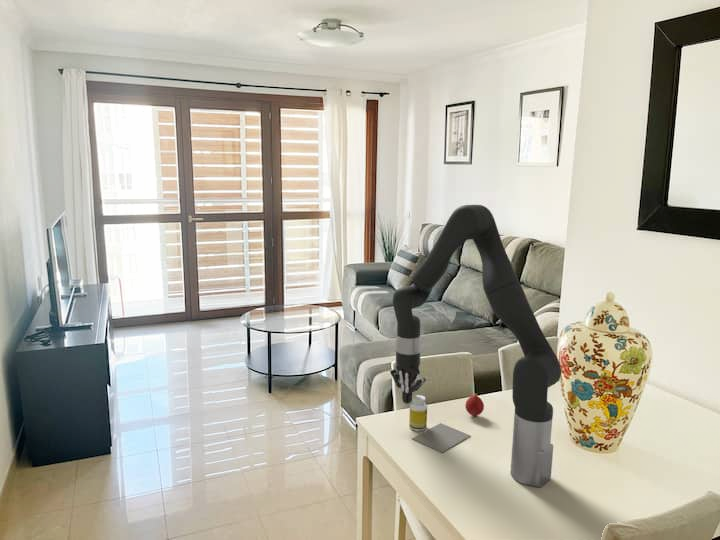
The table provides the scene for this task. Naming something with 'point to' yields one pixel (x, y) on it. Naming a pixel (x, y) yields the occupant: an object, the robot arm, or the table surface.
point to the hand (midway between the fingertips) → (406, 402)
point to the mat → (441, 437)
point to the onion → (474, 405)
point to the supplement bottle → (418, 413)
